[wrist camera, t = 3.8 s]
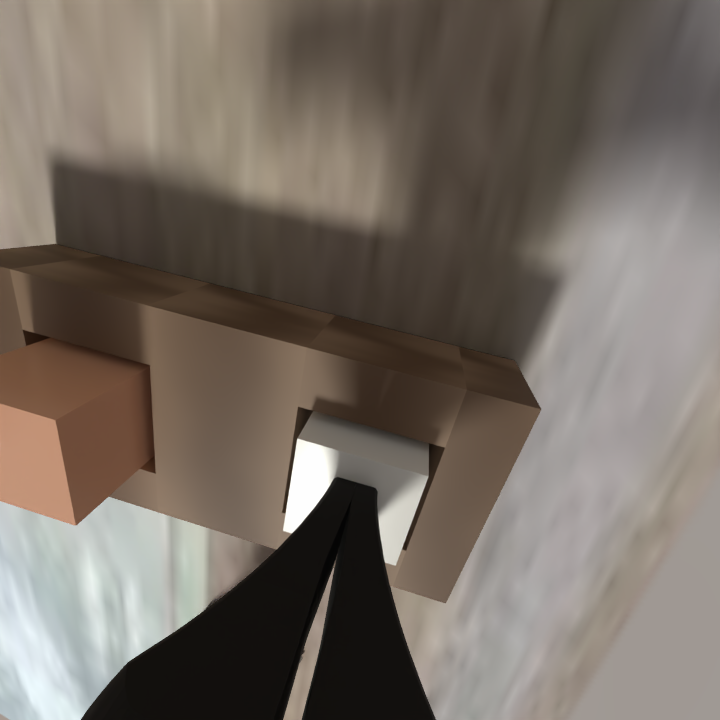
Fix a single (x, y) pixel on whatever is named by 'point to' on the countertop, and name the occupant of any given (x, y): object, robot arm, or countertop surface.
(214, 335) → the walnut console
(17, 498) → the salmon pink cube
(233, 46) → the countertop surface
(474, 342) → the countertop surface
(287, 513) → the white cube
